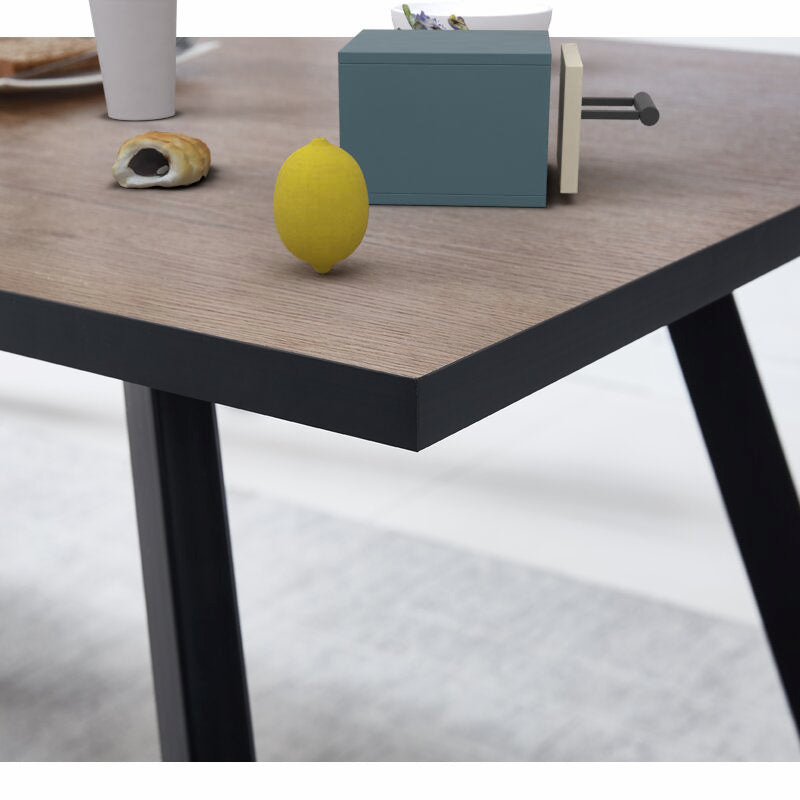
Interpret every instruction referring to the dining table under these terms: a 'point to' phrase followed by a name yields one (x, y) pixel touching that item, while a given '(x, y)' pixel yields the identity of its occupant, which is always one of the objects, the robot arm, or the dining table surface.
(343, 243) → the lemon
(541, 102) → the cabinet
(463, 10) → the bowl
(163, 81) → the coffee cup
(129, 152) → the pastry
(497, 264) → the dining table surface
